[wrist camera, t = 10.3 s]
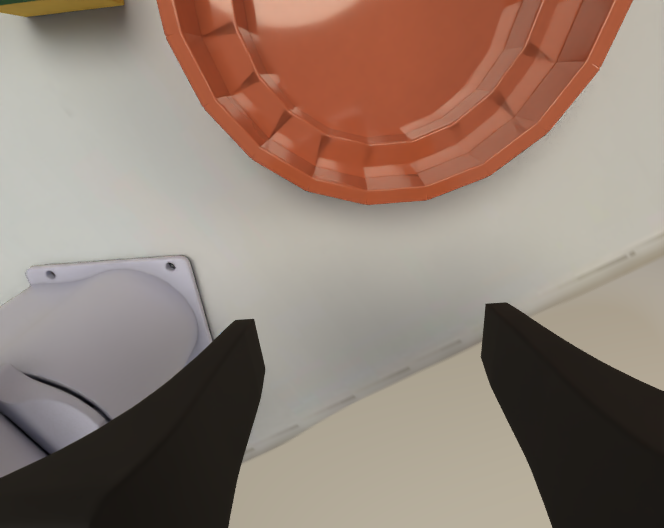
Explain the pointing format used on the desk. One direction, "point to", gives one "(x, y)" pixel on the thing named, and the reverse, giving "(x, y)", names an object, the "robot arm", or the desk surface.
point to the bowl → (388, 84)
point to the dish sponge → (52, 6)
